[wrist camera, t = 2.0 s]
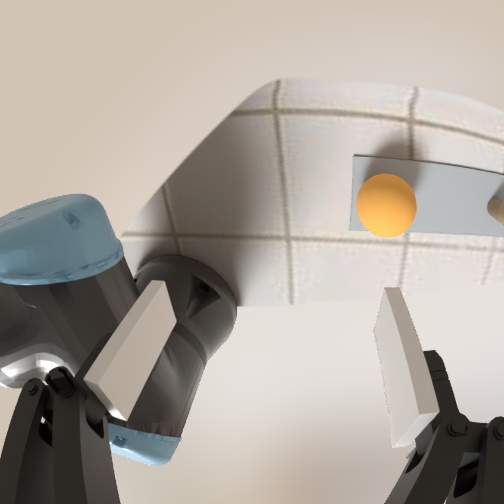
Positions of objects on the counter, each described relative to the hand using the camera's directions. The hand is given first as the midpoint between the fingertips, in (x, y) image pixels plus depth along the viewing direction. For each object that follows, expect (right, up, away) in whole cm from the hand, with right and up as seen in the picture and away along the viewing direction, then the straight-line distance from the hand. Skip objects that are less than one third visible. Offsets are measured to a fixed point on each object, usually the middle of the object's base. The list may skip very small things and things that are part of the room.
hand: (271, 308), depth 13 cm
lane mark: (+23, +8, +12) cm, 27 cm away
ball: (+12, +7, +11) cm, 18 cm away
